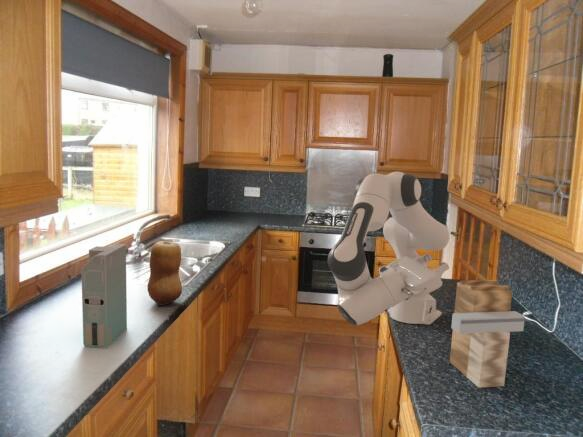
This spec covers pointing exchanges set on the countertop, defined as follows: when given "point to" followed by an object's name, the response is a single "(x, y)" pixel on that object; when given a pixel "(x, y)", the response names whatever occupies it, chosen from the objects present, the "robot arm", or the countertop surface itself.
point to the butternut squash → (165, 272)
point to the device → (104, 296)
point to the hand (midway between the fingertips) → (438, 260)
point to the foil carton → (487, 322)
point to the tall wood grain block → (481, 334)
